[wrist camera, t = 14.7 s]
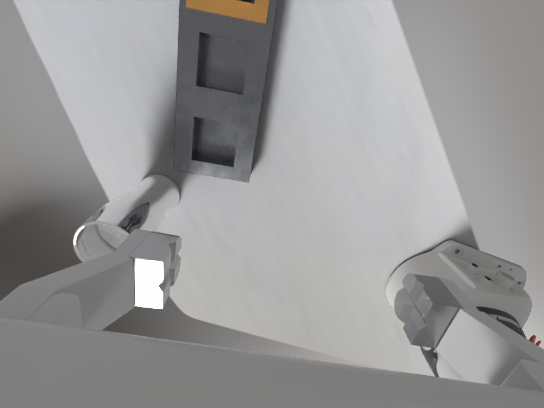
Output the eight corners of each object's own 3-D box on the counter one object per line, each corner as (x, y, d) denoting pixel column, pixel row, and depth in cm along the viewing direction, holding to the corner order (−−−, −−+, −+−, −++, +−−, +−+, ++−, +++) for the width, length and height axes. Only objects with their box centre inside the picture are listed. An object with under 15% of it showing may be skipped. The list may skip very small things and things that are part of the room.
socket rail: (193, -87, 30) (182, -108, 26) (288, -65, 30) (289, -83, 27) (181, 162, 41) (172, 170, 37) (250, 174, 41) (248, 183, 38)
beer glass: (142, 163, 41) (75, 209, 27) (188, 182, 42) (146, 235, 28) (131, 204, 44) (66, 263, 30) (175, 220, 45) (131, 285, 31)
